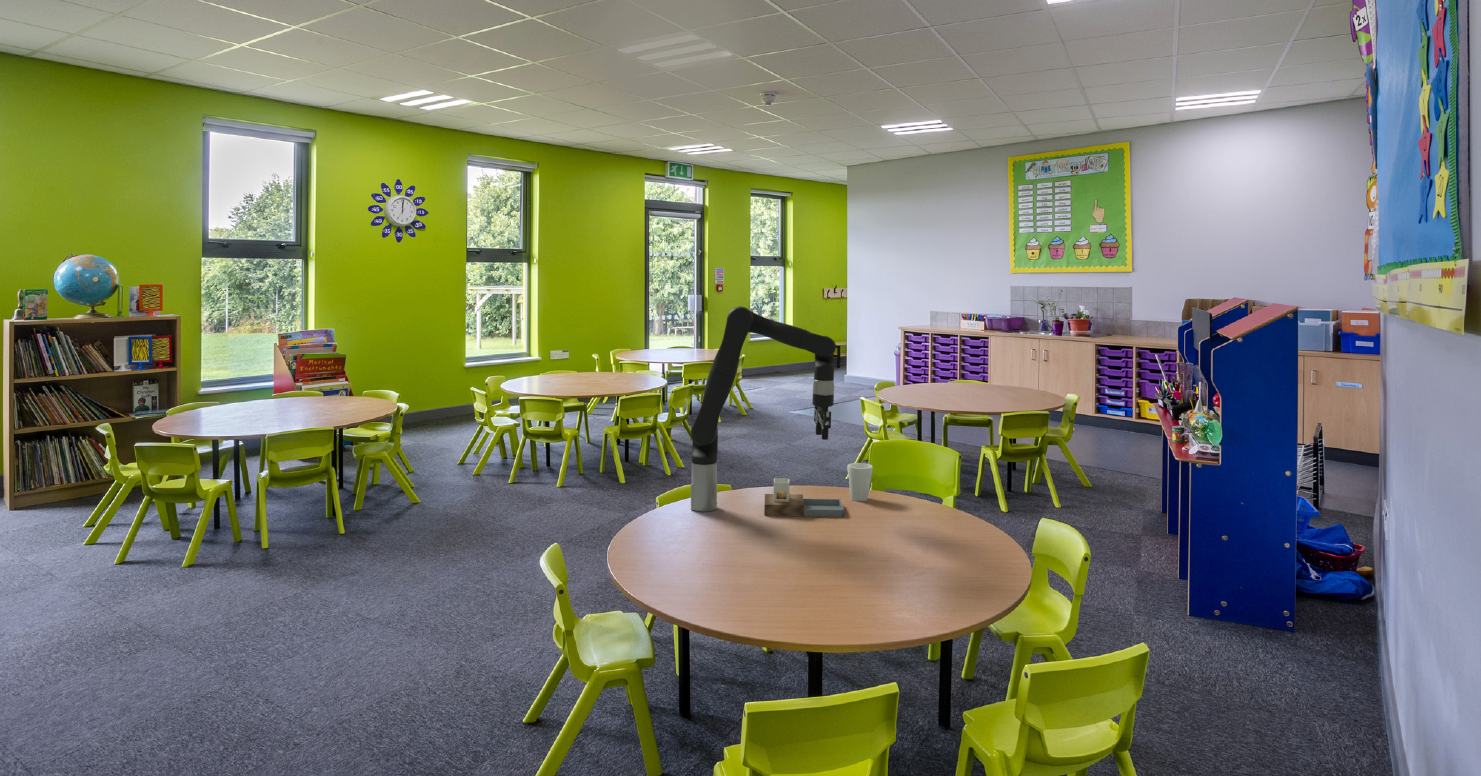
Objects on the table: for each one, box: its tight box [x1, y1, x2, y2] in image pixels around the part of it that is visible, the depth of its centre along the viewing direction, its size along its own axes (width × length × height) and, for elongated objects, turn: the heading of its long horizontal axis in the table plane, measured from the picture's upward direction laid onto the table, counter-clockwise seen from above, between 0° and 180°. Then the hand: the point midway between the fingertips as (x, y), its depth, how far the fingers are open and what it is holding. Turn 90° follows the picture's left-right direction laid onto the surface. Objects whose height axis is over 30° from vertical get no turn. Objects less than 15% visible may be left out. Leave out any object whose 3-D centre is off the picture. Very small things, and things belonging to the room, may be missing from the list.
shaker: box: [773, 478, 790, 502], centre depth 281 cm, size 6×6×7 cm
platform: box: [763, 493, 805, 517], centre depth 282 cm, size 14×14×4 cm
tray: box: [803, 498, 845, 518], centre depth 281 cm, size 14×14×2 cm
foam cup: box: [846, 462, 874, 502], centre depth 296 cm, size 10×9×13 cm
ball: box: [777, 492, 785, 499], centre depth 281 cm, size 3×3×3 cm
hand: (821, 437), depth 279 cm, fingers open, 8 cm apart
